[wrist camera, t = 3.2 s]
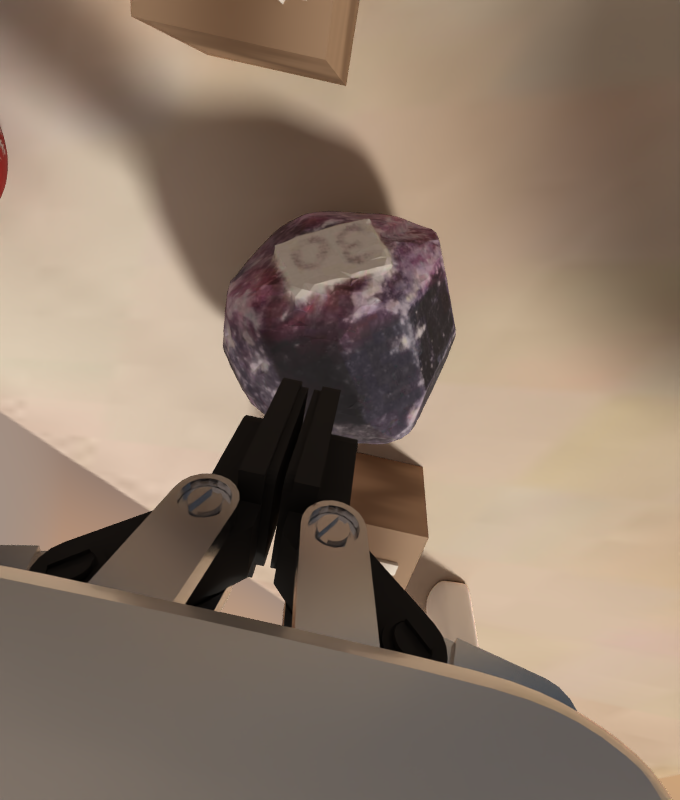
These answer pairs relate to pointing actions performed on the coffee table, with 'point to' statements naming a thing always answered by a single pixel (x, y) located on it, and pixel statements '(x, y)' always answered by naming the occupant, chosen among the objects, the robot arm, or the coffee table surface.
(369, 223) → the mineral specimen
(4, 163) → the christmas ornament
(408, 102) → the coffee table surface
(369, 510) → the walnut block
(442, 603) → the eye dropper bottle
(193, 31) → the brown cube
